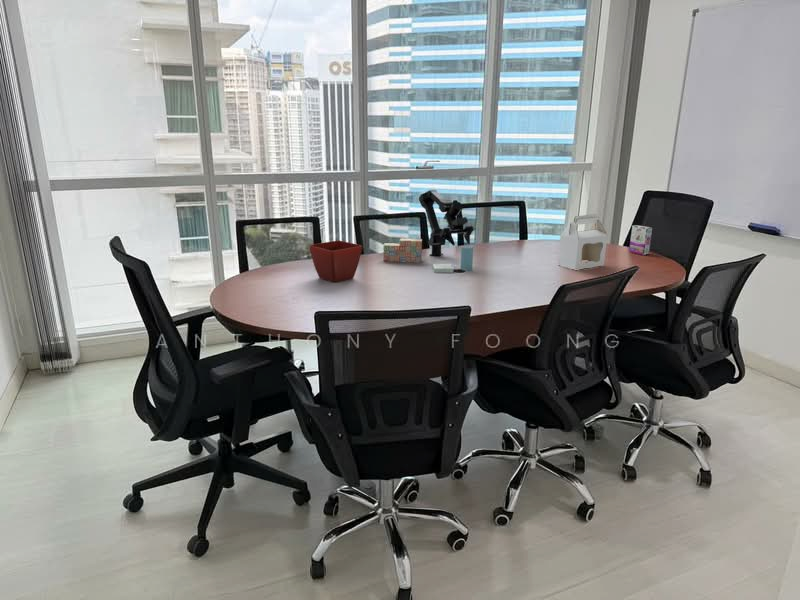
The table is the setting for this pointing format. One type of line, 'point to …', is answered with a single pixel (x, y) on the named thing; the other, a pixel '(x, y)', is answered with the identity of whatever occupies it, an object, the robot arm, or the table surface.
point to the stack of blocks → (404, 250)
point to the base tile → (442, 268)
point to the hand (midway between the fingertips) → (461, 244)
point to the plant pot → (335, 260)
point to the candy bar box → (640, 239)
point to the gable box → (589, 239)
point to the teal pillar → (466, 257)
